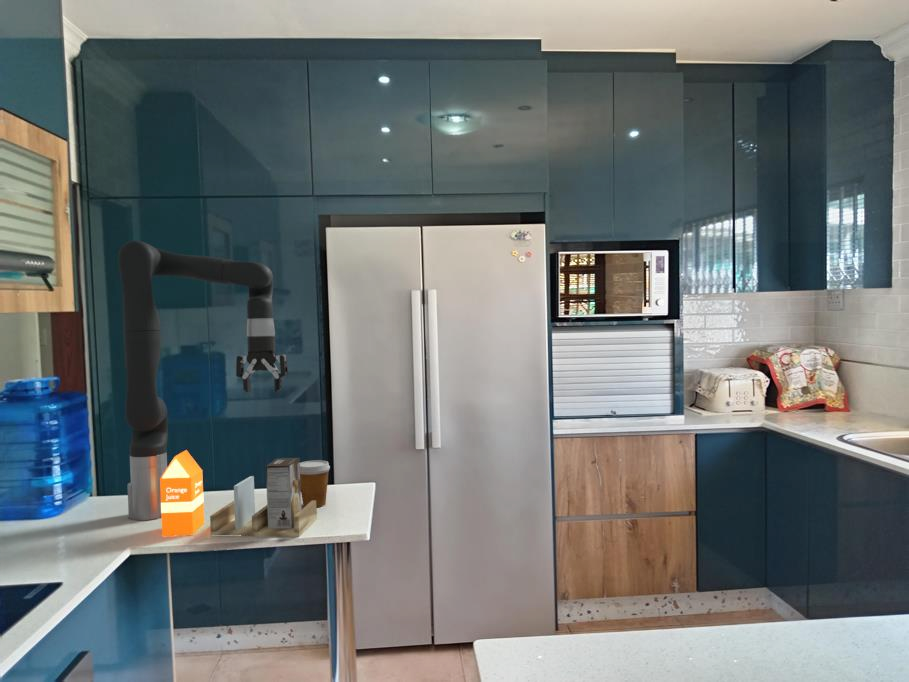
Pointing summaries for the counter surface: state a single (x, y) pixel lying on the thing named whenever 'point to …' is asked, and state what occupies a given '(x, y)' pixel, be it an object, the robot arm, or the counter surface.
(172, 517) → the orange juice
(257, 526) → the rack
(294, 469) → the coffee box
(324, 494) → the disposable coffee cup
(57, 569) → the counter surface
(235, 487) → the pale grey flat panel
